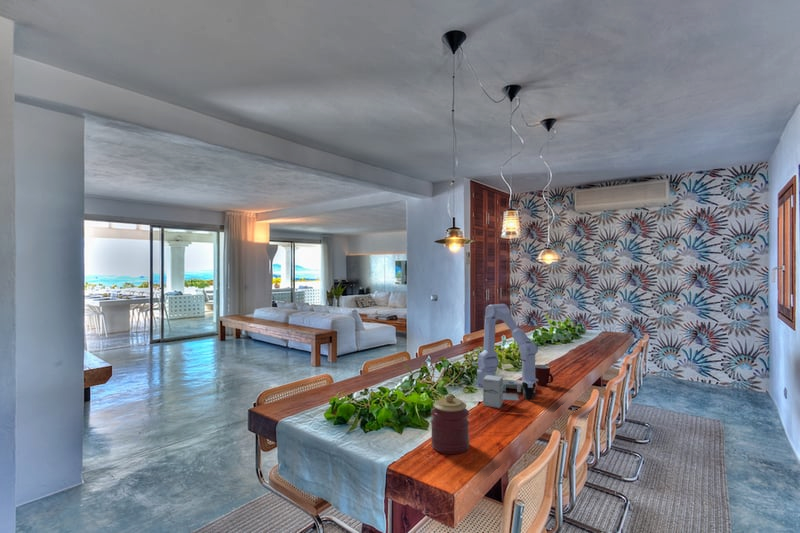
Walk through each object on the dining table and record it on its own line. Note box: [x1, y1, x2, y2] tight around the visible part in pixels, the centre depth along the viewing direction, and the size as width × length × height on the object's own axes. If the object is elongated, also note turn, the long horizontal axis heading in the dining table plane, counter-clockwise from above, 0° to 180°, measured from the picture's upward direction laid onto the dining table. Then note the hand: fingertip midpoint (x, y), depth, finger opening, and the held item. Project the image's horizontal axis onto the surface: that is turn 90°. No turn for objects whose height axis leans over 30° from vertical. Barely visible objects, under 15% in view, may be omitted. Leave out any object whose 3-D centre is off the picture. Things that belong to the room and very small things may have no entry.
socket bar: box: [503, 379, 536, 394], centre depth 190 cm, size 15×7×5 cm, turn 77°
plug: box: [522, 388, 534, 400], centre depth 181 cm, size 4×8×4 cm, turn 166°
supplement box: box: [482, 375, 504, 409], centre depth 171 cm, size 7×7×13 cm
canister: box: [430, 393, 470, 455], centre depth 132 cm, size 13×13×18 cm
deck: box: [503, 392, 520, 402], centre depth 181 cm, size 8×10×1 cm
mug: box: [535, 364, 554, 387], centre depth 198 cm, size 11×8×10 cm
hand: (529, 399), depth 175 cm, fingers closed
